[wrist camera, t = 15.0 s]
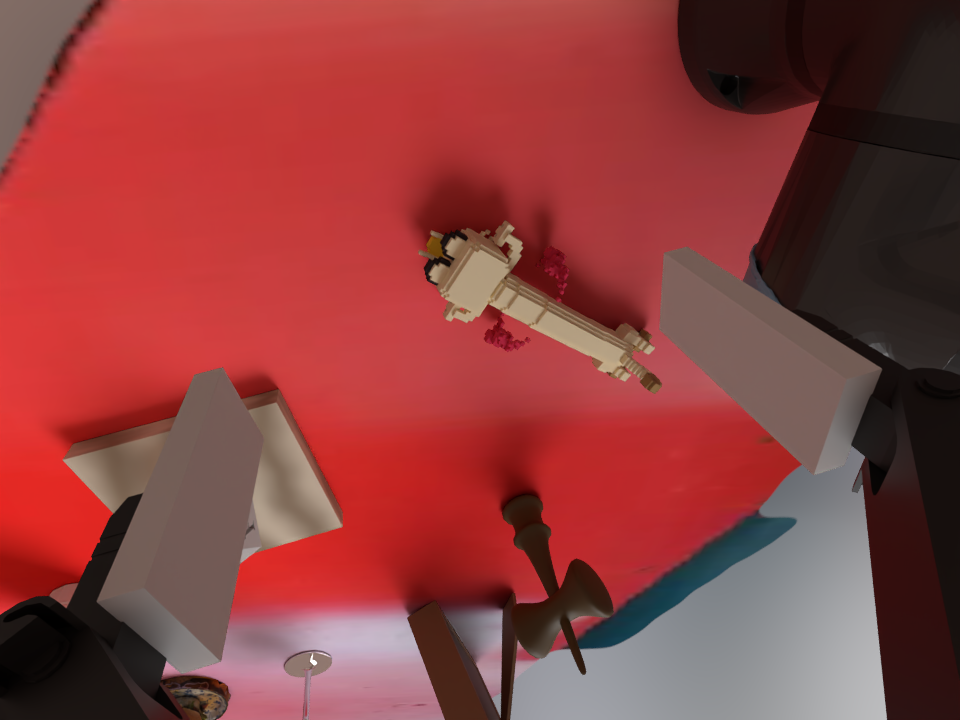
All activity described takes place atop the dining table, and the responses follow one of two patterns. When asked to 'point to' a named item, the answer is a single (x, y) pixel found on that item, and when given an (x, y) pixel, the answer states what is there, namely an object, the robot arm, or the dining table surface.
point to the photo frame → (462, 666)
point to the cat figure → (525, 300)
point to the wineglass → (308, 671)
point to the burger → (199, 696)
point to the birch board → (279, 484)
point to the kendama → (551, 586)
